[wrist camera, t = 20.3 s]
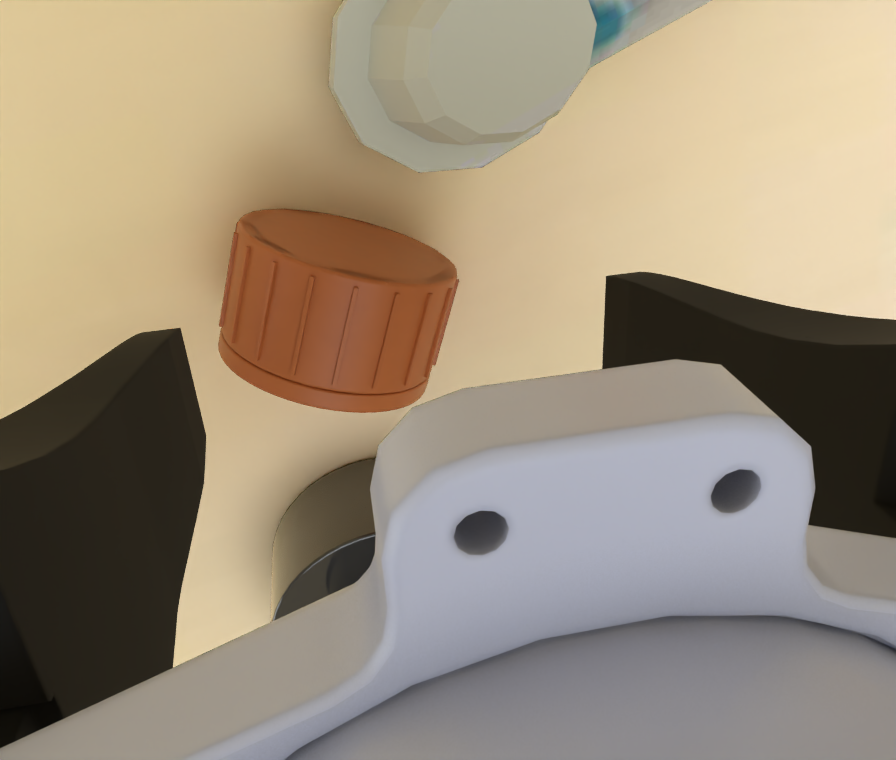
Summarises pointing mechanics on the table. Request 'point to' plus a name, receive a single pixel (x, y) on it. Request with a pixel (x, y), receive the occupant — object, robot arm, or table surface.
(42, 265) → the table surface
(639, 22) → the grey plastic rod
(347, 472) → the grey round holder
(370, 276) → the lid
